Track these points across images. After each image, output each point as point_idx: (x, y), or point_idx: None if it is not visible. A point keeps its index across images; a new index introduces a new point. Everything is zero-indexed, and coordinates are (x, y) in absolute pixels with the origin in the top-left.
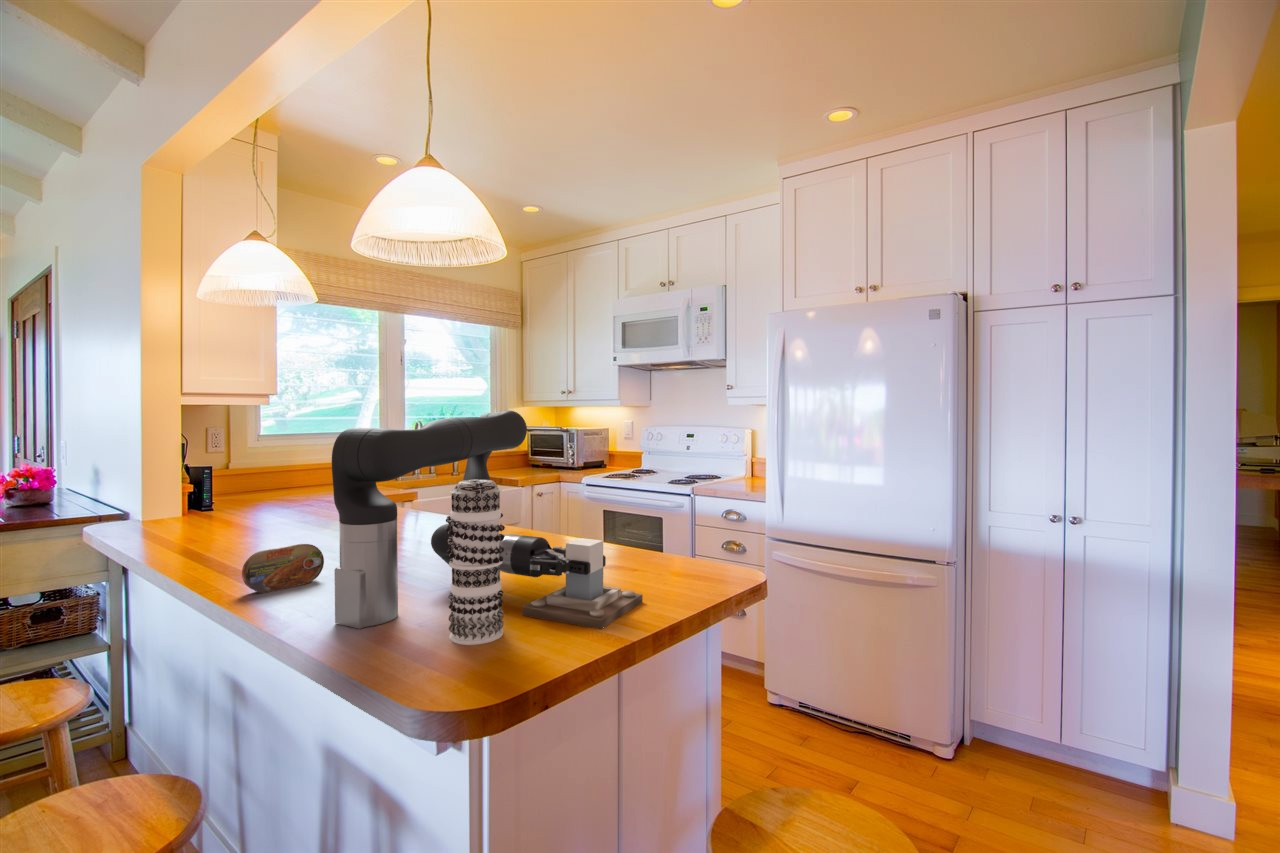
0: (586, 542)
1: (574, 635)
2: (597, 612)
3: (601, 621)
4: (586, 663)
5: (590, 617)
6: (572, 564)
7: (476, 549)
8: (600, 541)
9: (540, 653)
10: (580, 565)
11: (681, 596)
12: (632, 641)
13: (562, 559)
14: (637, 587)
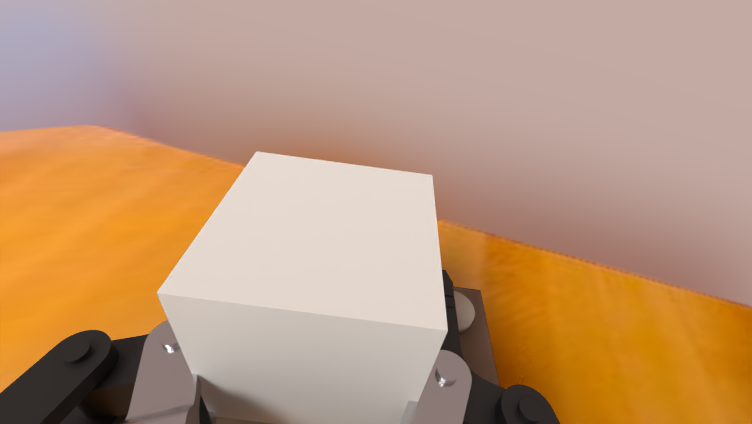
0: (346, 205)
1: (552, 353)
2: (459, 302)
3: (478, 291)
4: (635, 274)
5: (478, 323)
6: (458, 332)
7: None
8: (289, 157)
9: (706, 384)
10: (452, 286)
11: (159, 207)
12: (490, 236)
13: (461, 410)
14: (10, 328)
